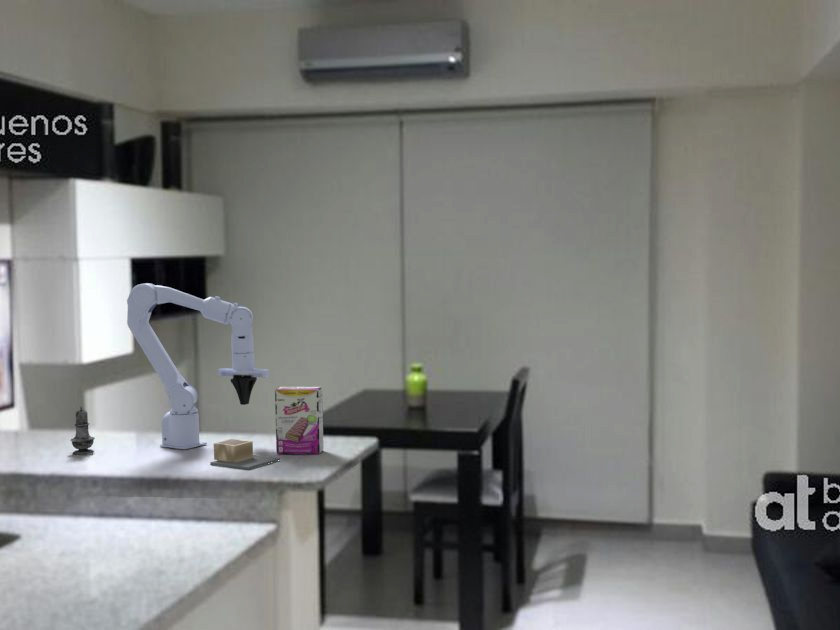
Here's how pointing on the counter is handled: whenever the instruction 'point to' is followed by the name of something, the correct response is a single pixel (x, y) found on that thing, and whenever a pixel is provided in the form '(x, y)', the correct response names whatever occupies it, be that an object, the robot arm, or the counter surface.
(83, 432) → the salt shaker
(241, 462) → the grey plate
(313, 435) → the candy bar box
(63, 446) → the counter surface
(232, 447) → the maple block
